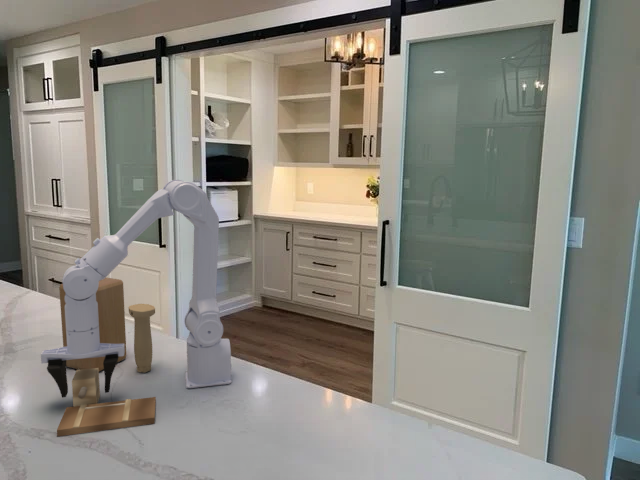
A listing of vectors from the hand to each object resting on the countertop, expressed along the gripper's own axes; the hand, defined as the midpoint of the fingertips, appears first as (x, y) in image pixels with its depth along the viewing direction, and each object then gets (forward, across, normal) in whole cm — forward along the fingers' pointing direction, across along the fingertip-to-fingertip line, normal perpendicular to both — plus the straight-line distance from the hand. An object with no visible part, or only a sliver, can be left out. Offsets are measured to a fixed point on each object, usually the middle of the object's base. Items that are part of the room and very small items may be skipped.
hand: (86, 392), depth 93 cm
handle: (+2, -10, -12) cm, 16 cm away
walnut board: (+2, -5, +8) cm, 9 cm away
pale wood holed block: (+2, 0, +1) cm, 2 cm away
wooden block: (+2, +1, -20) cm, 20 cm away
